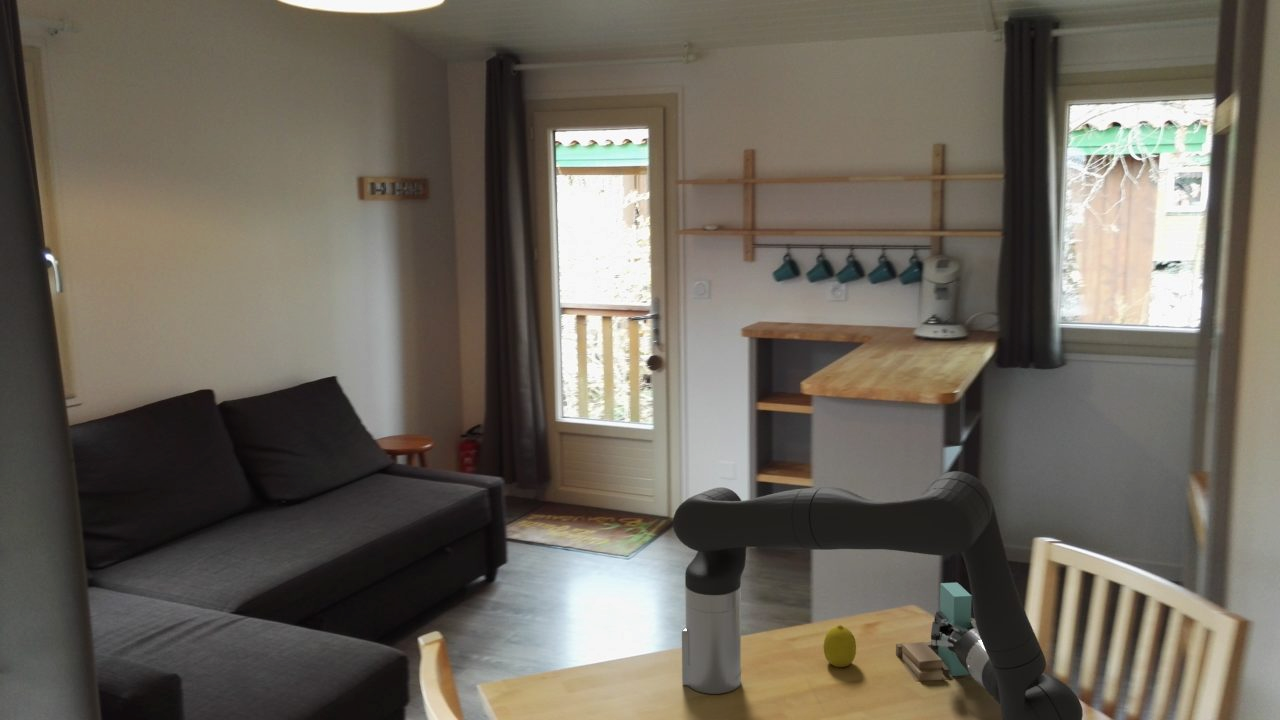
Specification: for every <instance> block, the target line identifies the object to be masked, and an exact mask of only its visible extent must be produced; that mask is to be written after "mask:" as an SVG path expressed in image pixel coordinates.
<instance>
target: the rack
mask: <svg viewBox="0 0 1280 720" xmlns="http://www.w3.org/2000/svg"><path fill="white" fill-rule="evenodd" d="M924 642H925V641H924ZM906 643H907V642H905V643H904V642H903V643H896V644H895V655H896V657H897V658H898V660H899V661H900V662H901V663H902V664H901V665H902V666H904V668H905V669H906V671H908V673H909V674H910V675H911V677H912V678H913V679H914V680H915V682H920V681H919V680H918V679H917V678H916V676H915V675H914V674H913V673H912V671H911V670H910V669H909V667H908V666H907V665H906V663H905V662H904V661H903V660H902V658H903V652H902V644H906ZM925 643H926V644H927V645H928V646H929V647H930V648H931V641H928V642H927V641H926V642H925ZM932 650H933V649H932ZM933 651H934V652H935V653H936V654H937V655H938V649H937V650H933ZM940 669H941V670H942V671H943V673H942V680H941V681H943V680H944V681H945V680H946V681H947V680H962V679H974V678H973V677H972V675H971V674H970V673H969V675H961V676H951V675H950V674H949V670H950V669H949V668H948V667H947V666H946V665H945V664H944V662H943V661H942V668H940ZM926 681H927V682H929V681H931V680H926ZM926 681H925V682H926Z"/></svg>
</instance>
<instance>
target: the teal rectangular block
mask: <svg viewBox="0 0 1280 720" xmlns="http://www.w3.org/2000/svg"><path fill="white" fill-rule="evenodd" d="M939 587H940V588H939V612H942V614H943V615H944V616H945V617H946V618H947V619H948V620H949V621H950V622H951V623H957V624H958V625H960V626H961V627H963V628H970V622H971V618H972V595H971V594H970V593H969V592H968V591H967V590H966V589H965V588H964V587H963V586H962V585H961V584H959V583H958V582H941V583H940V586H939ZM942 636H943V635H942ZM944 638H945V637H944ZM945 639H947V638H945ZM938 656H939V657H940V658H941V659H942V661H943V662H944V664H945V665H946V666H947V667H948V668H949V669H950V670H949V674H950V675H951V676H961V675H969V672H968V671H967V670H966V669H965V668H964V666H963V665H962V664H961V663H960V661H959V659H958V657H957V655H956V653H954V652H952V651H950V650H949V649H948V647H946V646H941V647H938Z"/></svg>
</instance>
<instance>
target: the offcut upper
mask: <svg viewBox="0 0 1280 720" xmlns="http://www.w3.org/2000/svg"><path fill="white" fill-rule="evenodd" d="M905 643H906V644H902V643H901V644H902V652H903V654H904V655H905V656H906V657H907V658H908V659H909V660H910V661H911V662H912V663H913V664H914V665H915V666H916V667H917V668H918V669H919V670H926V669H937V668H942V659H941V658H940V657H939V656H938V655H937V654H936V653H935V652H934V651H933V650H932V649H931V648H930V647H929V646H928V645H927V644H926V643H925V641H919V642H905Z"/></svg>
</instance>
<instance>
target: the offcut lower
mask: <svg viewBox="0 0 1280 720" xmlns="http://www.w3.org/2000/svg"><path fill="white" fill-rule="evenodd" d="M902 660H903V661H904V662H905V663H906V665H907V666H908V667H909V669H910V670H911V671H912V673H913V674H914V675H915V676H916V678H917V679H918V680H919V681H918V682H926V680H930V681H943V680H942V673H943V671H942V670H941V669H940V668H937V669H926V670H919V669H918V668H917V667H916V666H915V665H914V664H913V663H912V662H911V661H910V660H909V659H908V658H907V657H906V656H905V655H904V654H903V658H902Z"/></svg>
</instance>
